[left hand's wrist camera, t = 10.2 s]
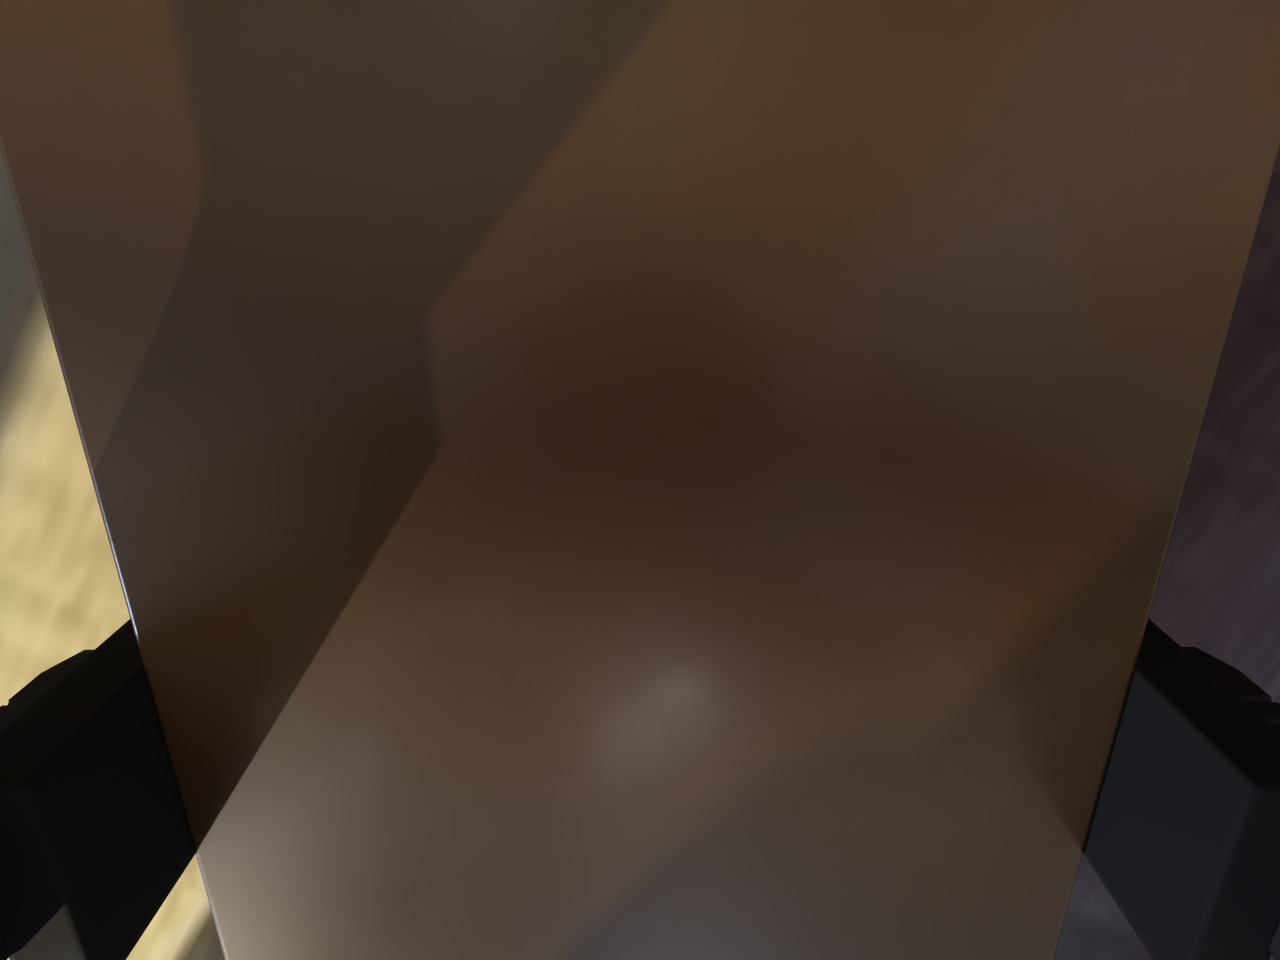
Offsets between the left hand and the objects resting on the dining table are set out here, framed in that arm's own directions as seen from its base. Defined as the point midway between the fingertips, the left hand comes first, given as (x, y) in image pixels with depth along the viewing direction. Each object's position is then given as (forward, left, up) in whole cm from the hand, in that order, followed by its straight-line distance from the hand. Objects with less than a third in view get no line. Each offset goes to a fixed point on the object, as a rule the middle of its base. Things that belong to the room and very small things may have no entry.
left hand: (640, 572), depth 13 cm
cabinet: (+5, 0, -3) cm, 6 cm away
